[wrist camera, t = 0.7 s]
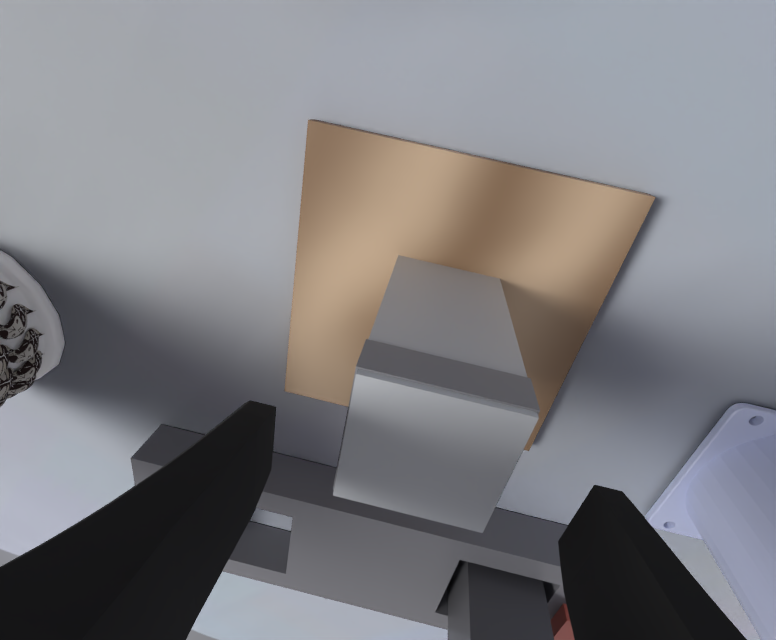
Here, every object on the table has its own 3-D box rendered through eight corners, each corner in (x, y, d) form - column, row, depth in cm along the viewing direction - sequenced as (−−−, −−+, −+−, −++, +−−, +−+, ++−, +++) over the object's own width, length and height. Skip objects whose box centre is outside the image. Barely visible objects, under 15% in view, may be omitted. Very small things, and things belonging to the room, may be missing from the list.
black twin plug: (535, 542, 23) (571, 731, 16) (511, 581, 25) (535, 765, 18) (466, 524, 23) (472, 705, 16) (448, 565, 25) (447, 742, 18)
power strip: (621, 539, 22) (647, 604, 19) (563, 615, 26) (577, 679, 23) (161, 424, 23) (119, 470, 20) (170, 514, 27) (136, 564, 24)
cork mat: (647, 193, 14) (655, 197, 14) (526, 441, 20) (528, 450, 19) (313, 119, 15) (308, 119, 14) (288, 383, 20) (284, 391, 20)
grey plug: (501, 277, 16) (542, 416, 9) (471, 364, 18) (483, 534, 11) (397, 253, 16) (353, 371, 9) (378, 342, 18) (330, 496, 11)
